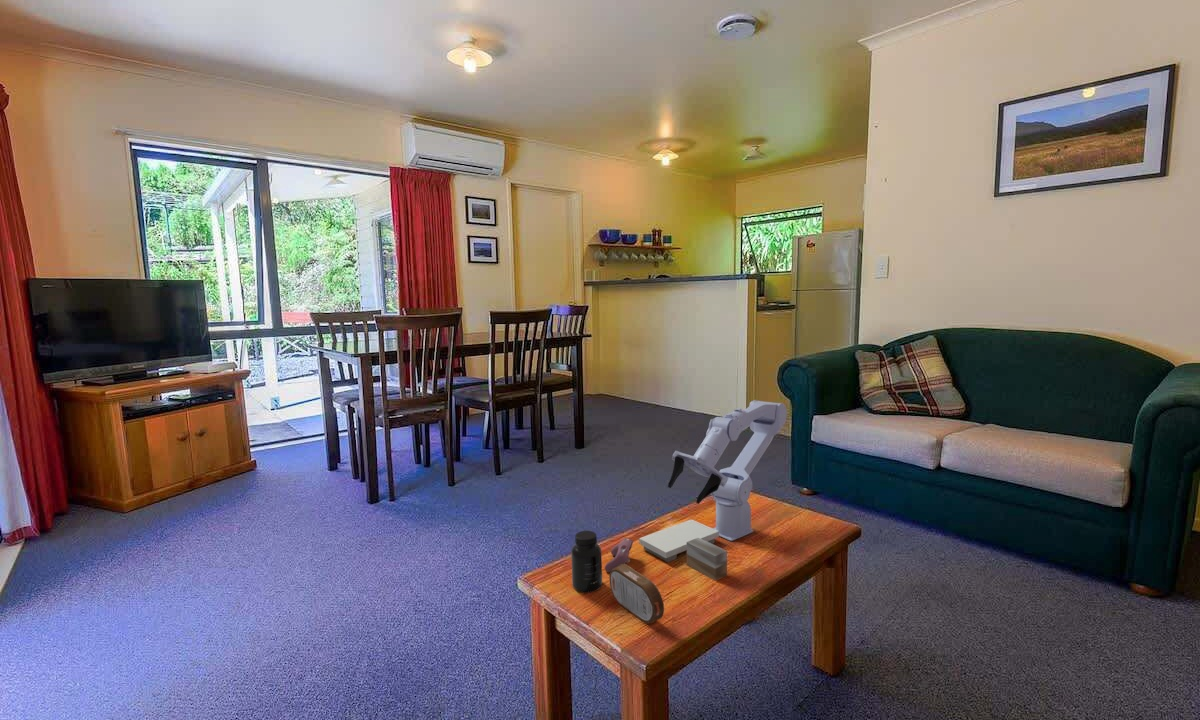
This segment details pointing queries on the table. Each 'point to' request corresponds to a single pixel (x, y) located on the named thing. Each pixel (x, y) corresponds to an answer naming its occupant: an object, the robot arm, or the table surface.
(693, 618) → the table surface
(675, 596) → the table surface
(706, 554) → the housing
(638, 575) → the tin
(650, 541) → the stand
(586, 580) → the supplement bottle
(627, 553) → the video game controller
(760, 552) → the table surface
